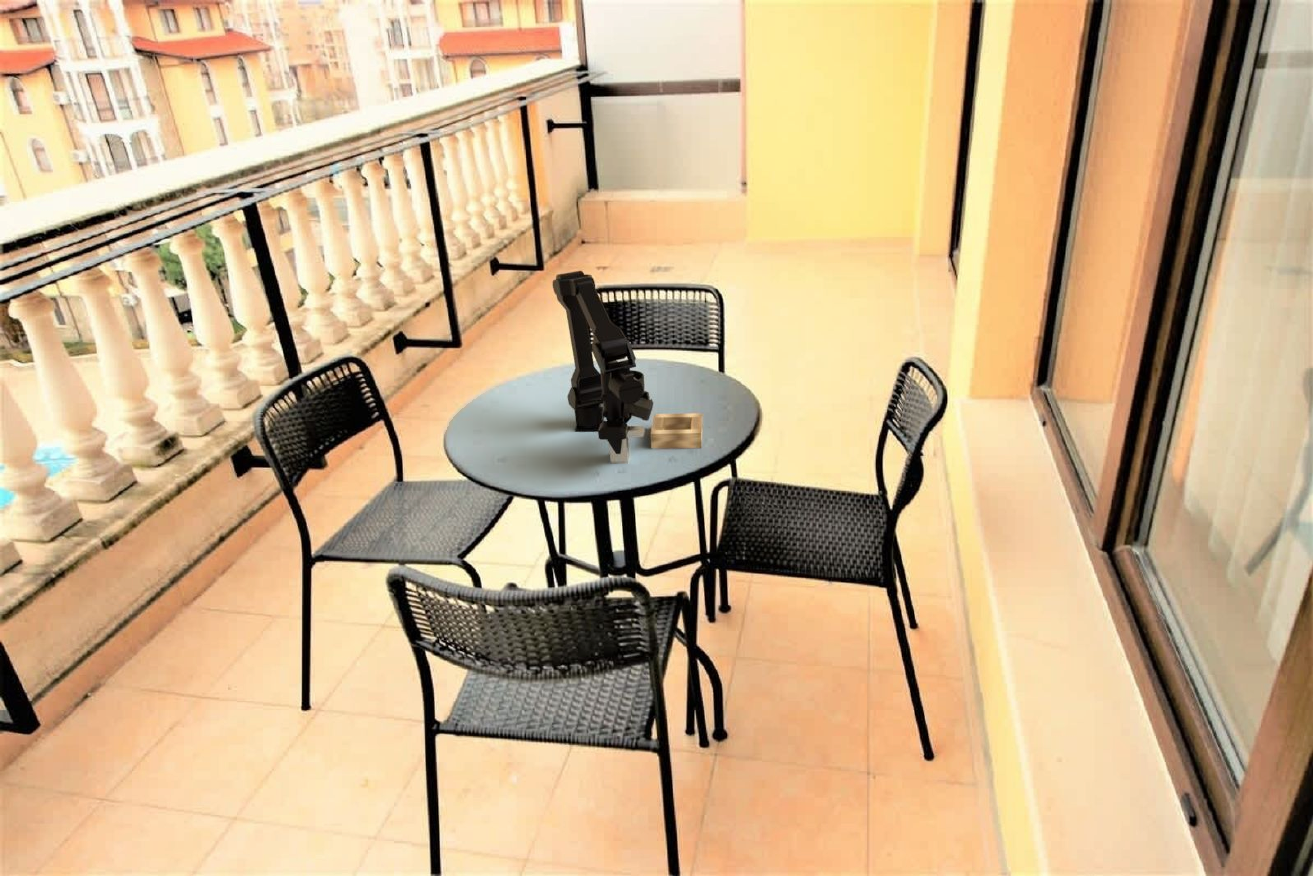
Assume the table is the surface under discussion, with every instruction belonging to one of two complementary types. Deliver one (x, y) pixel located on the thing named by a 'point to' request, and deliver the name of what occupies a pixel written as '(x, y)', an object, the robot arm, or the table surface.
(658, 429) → the well block
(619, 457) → the bracket
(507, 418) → the table surface
